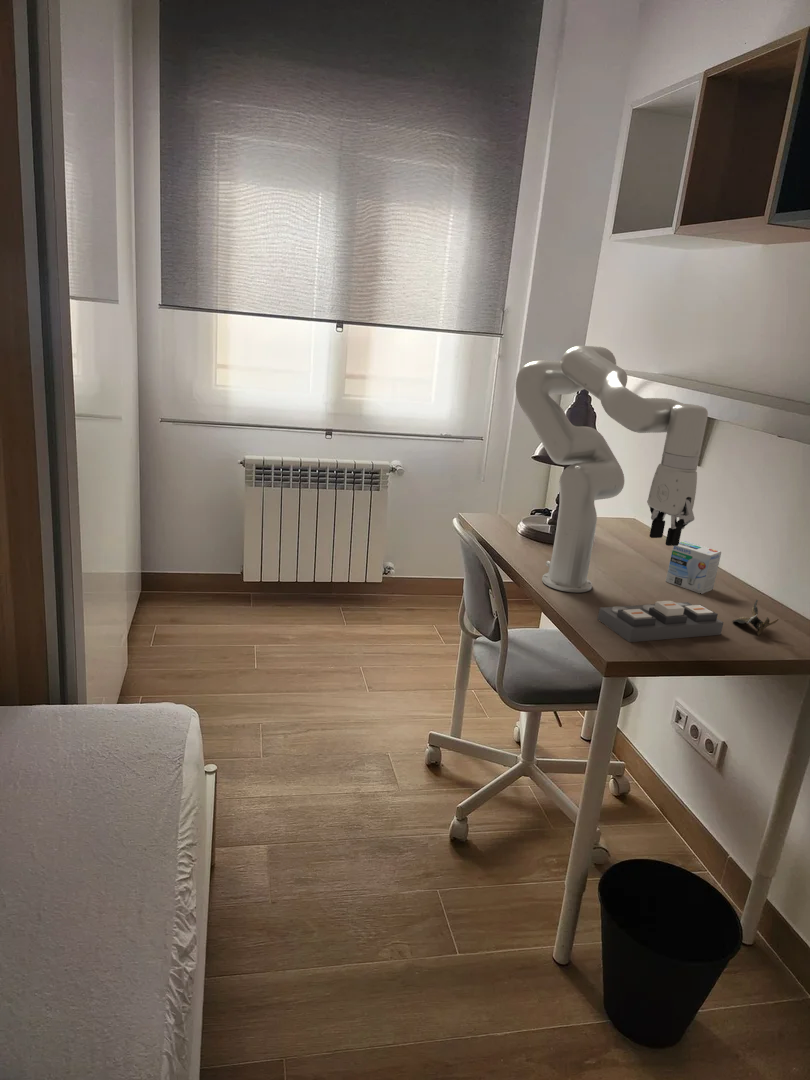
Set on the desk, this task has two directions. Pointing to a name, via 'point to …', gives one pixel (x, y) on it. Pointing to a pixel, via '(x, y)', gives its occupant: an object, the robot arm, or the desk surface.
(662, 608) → the middle button
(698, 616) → the button panel
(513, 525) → the desk surface
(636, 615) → the left button
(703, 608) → the right button
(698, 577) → the light bulb box
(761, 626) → the eagle figurine
